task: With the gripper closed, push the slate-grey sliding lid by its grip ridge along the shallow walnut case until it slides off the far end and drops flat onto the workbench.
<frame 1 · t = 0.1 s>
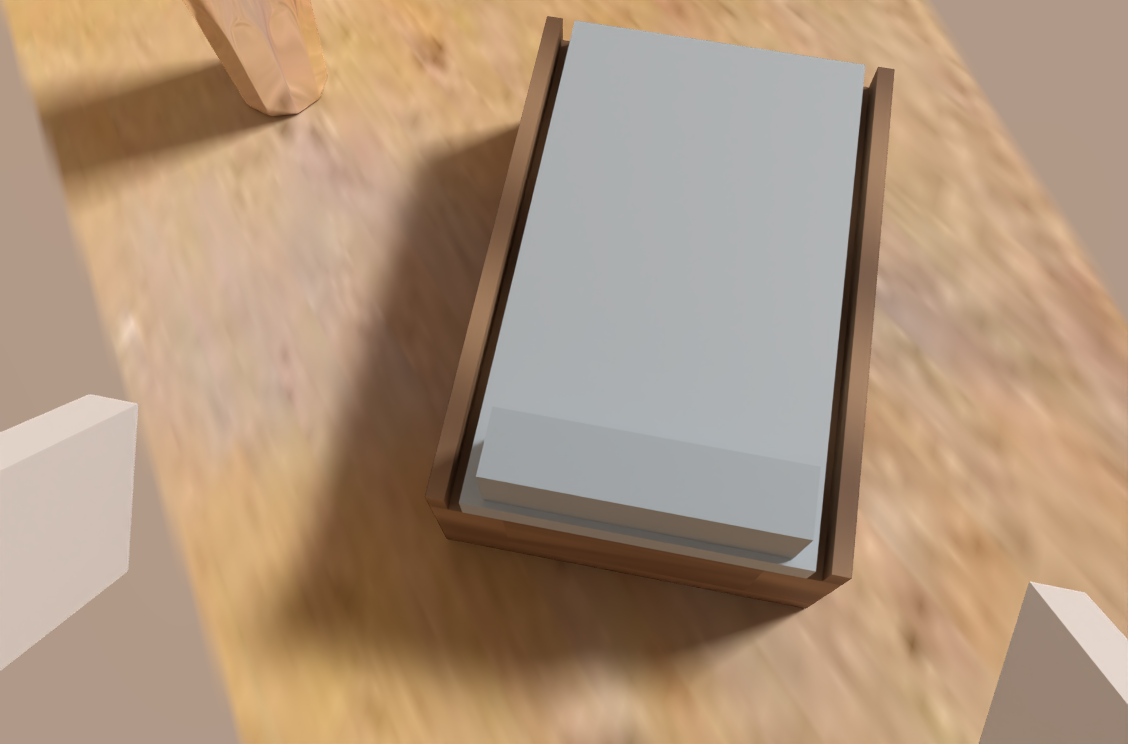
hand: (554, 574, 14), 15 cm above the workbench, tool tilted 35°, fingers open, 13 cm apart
milkshake: (274, 86, 36), on the workbench
lid: (677, 279, 29), point 4 cm above the workbench, touching case
case: (664, 335, 32), on the workbench
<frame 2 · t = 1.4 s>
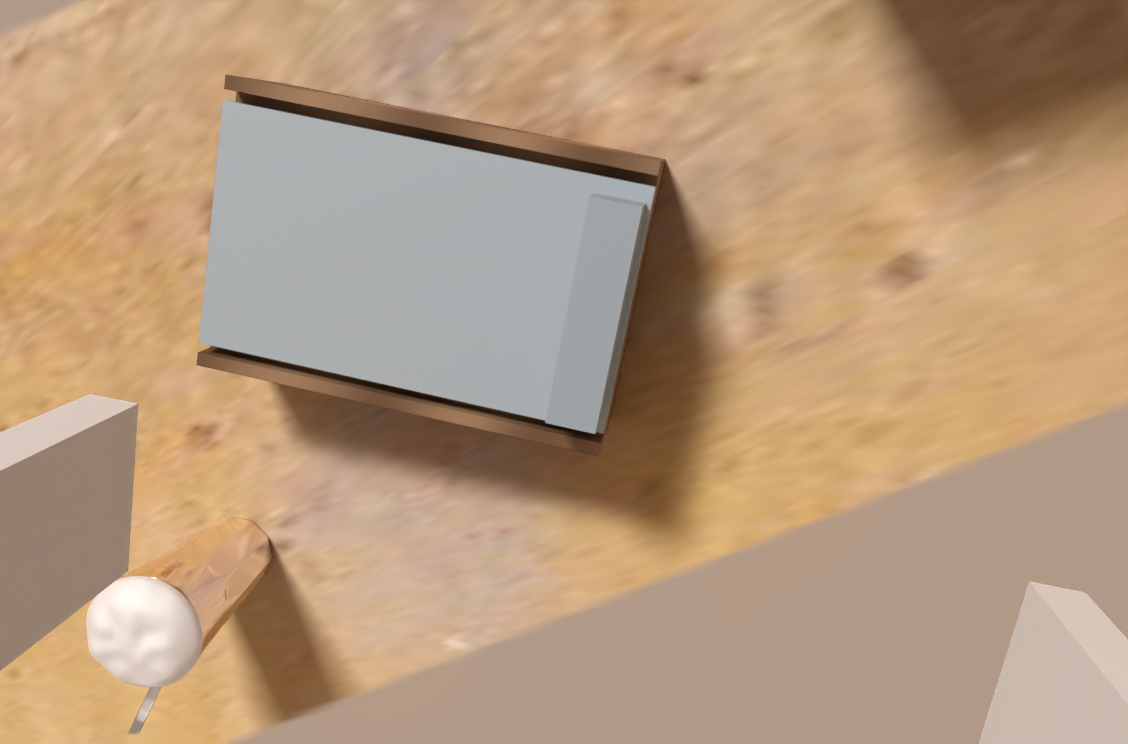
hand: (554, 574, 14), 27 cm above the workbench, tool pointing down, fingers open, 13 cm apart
milkshake: (242, 555, 45), on the workbench
lid: (423, 265, 37), point 4 cm above the workbench, touching case
case: (449, 254, 41), on the workbench
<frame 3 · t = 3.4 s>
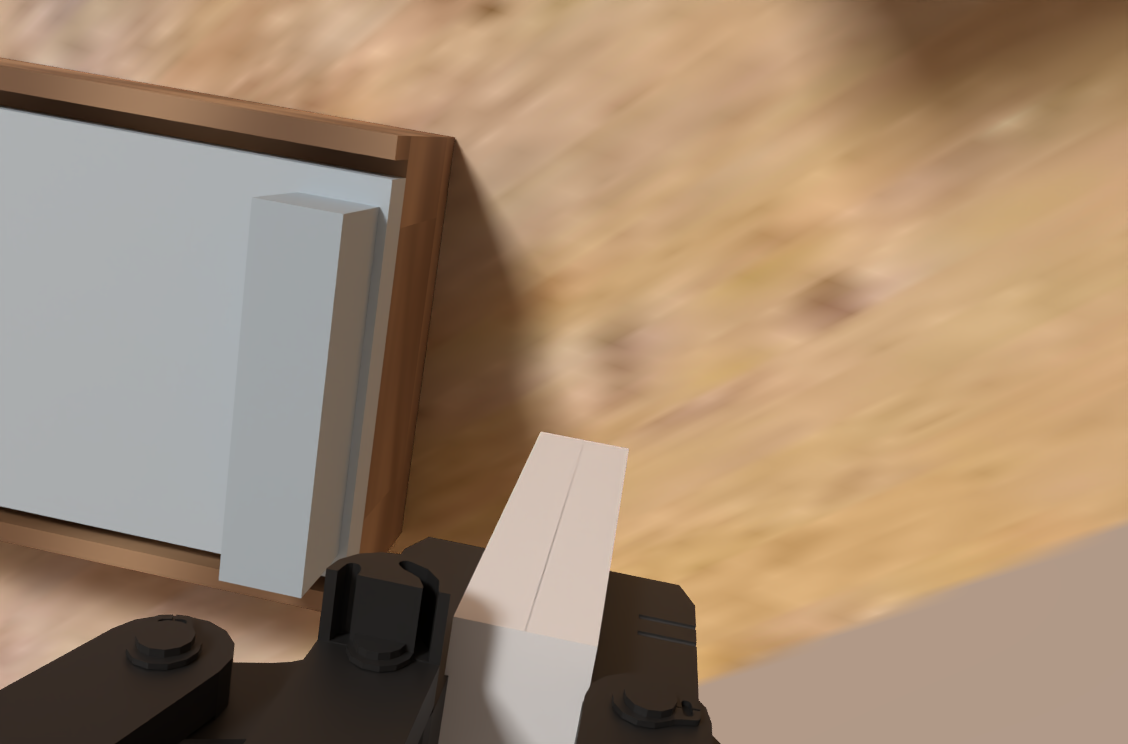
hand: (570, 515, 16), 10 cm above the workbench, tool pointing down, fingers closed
lid: (53, 315, 23), point 4 cm above the workbench, touching case
case: (145, 290, 27), on the workbench
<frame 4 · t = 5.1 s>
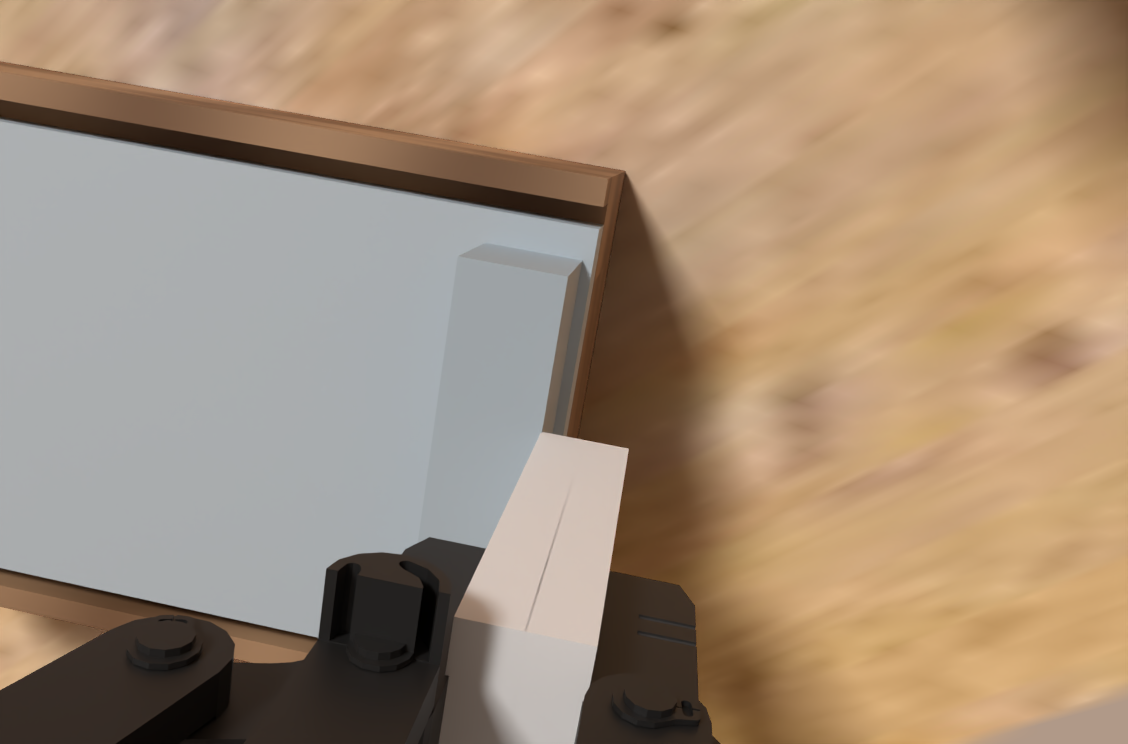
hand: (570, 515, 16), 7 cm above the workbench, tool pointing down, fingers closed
lid: (184, 377, 20), point 4 cm above the workbench, touching case, gripper
case: (265, 339, 24), on the workbench
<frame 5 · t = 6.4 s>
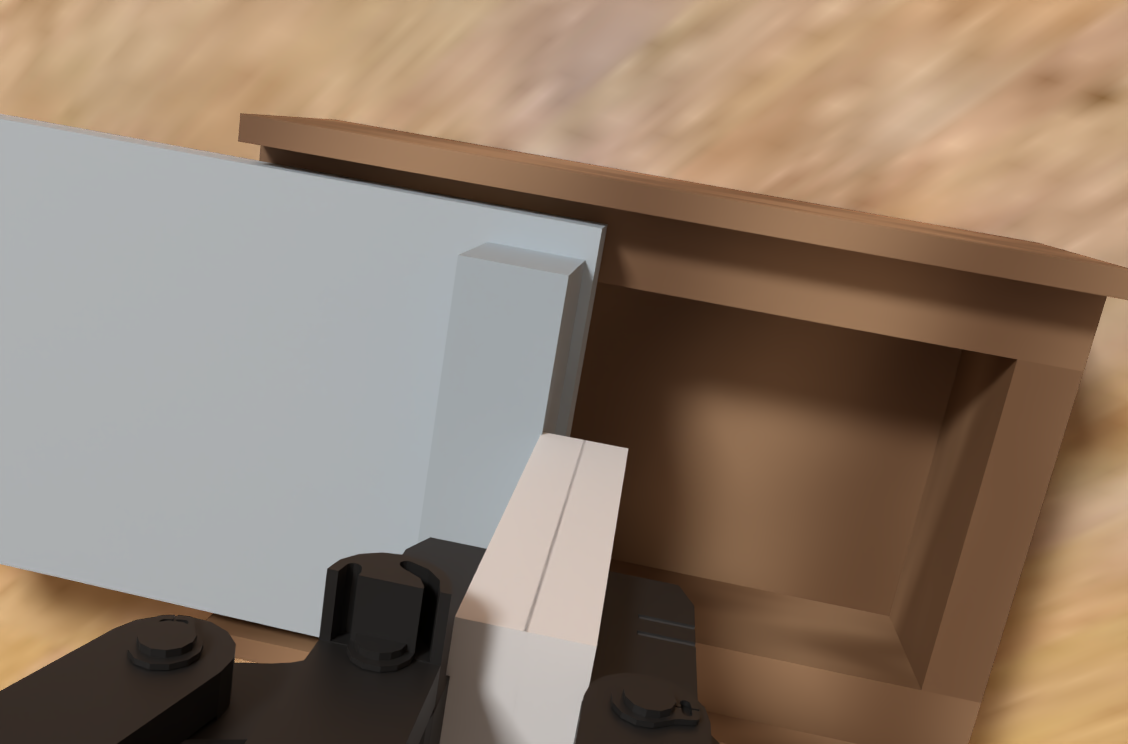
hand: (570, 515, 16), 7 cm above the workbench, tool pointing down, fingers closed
lid: (188, 376, 20), point 4 cm above the workbench, touching gripper
case: (632, 410, 23), on the workbench
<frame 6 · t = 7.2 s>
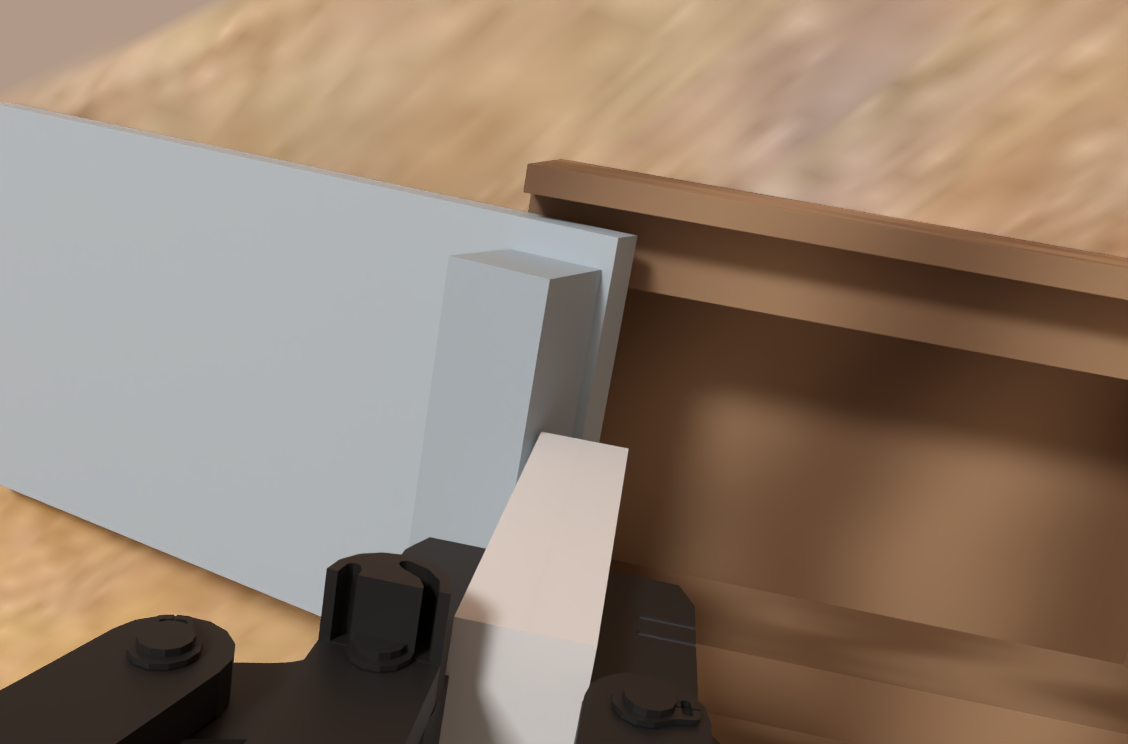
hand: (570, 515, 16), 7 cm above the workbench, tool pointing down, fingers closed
lid: (263, 369, 22), point 2 cm above the workbench, tilted 17°, touching gripper
case: (857, 454, 23), on the workbench
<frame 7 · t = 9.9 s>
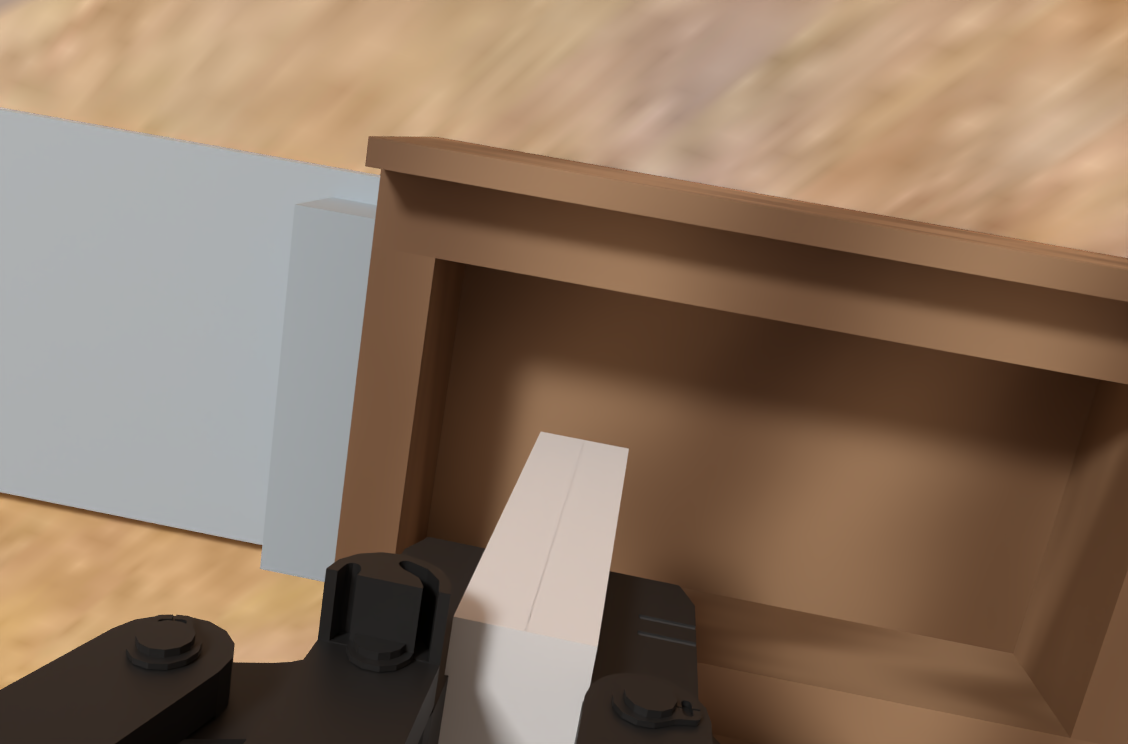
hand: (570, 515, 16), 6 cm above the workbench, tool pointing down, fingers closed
lid: (89, 315, 24), on the workbench
case: (744, 440, 22), on the workbench
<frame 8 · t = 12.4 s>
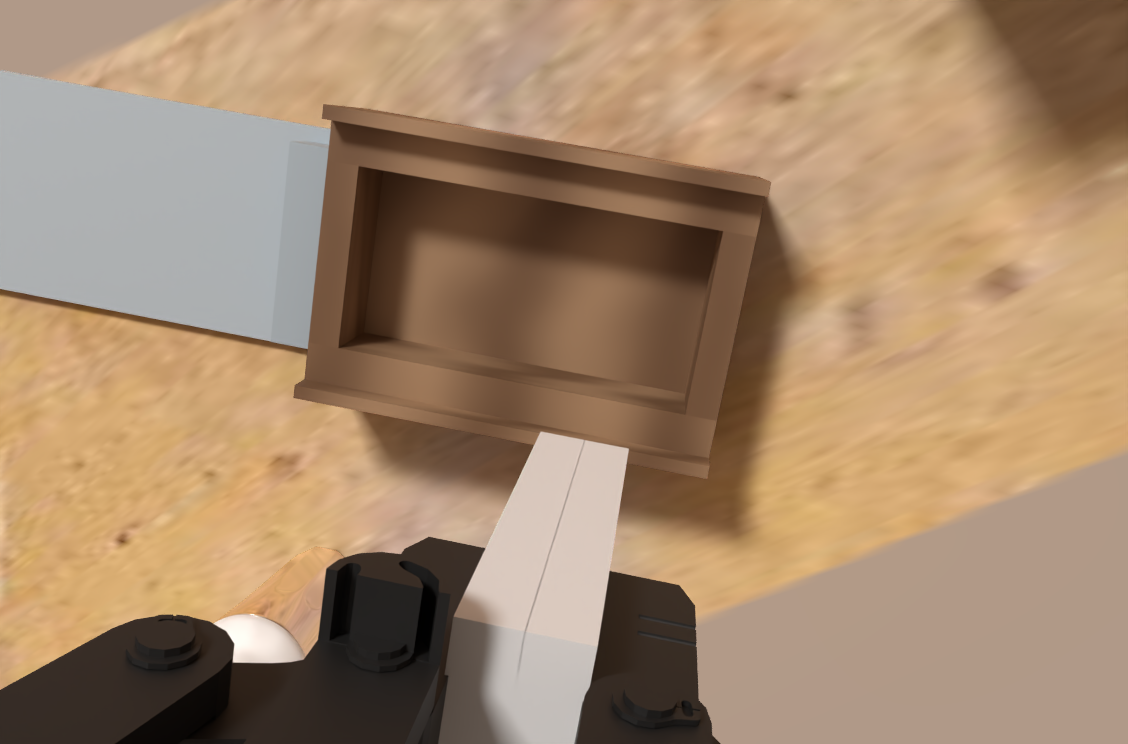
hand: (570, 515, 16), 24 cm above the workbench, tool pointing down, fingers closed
milkshake: (327, 585, 45), on the workbench
lid: (175, 211, 42), on the workbench
case: (538, 277, 40), on the workbench
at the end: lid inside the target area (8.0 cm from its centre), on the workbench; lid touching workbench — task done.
